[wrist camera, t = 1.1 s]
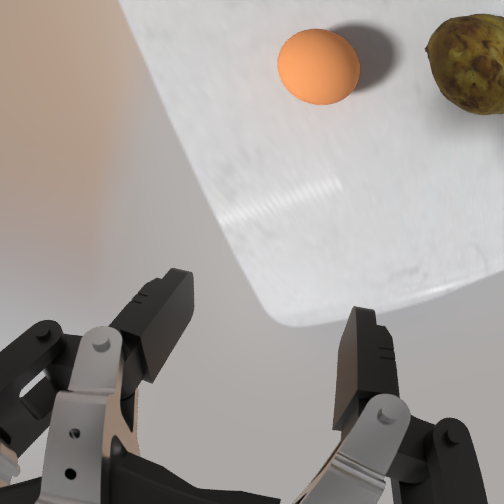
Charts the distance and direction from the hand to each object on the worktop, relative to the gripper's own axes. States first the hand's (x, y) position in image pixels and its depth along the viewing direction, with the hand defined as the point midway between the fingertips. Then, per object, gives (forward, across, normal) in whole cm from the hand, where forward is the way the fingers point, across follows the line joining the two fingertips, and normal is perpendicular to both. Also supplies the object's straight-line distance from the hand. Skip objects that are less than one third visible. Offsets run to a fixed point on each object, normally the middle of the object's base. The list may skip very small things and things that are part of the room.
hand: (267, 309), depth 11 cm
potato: (+16, -13, -14) cm, 25 cm away
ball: (+13, 0, -10) cm, 16 cm away
